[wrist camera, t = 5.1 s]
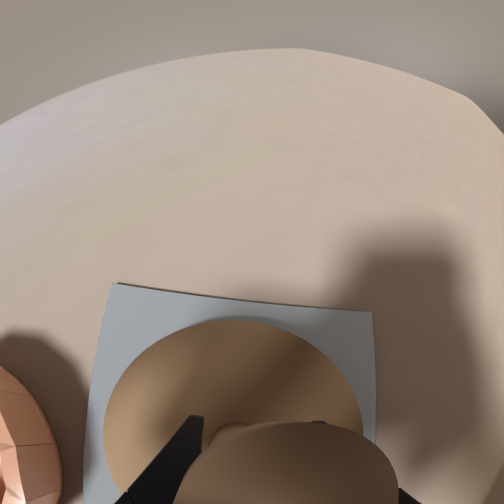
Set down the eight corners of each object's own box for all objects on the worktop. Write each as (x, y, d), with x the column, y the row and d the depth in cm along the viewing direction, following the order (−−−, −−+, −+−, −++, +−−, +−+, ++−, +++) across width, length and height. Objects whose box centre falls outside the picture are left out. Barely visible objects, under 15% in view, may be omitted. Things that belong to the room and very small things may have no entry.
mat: (368, 313, 17) (371, 311, 17) (359, 544, 9) (362, 545, 9) (114, 285, 16) (112, 282, 16) (87, 529, 8) (85, 531, 8)
